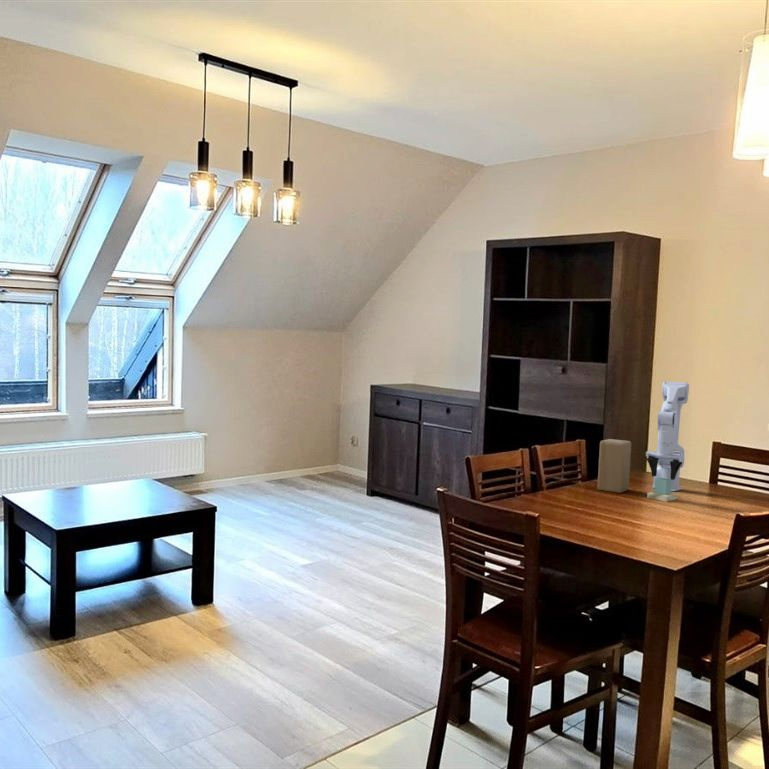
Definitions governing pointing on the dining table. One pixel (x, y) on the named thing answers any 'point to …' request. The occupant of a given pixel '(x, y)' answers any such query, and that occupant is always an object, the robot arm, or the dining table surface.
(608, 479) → the wooden block
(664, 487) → the teal block
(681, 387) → the robot arm
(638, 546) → the dining table surface
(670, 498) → the cream block
